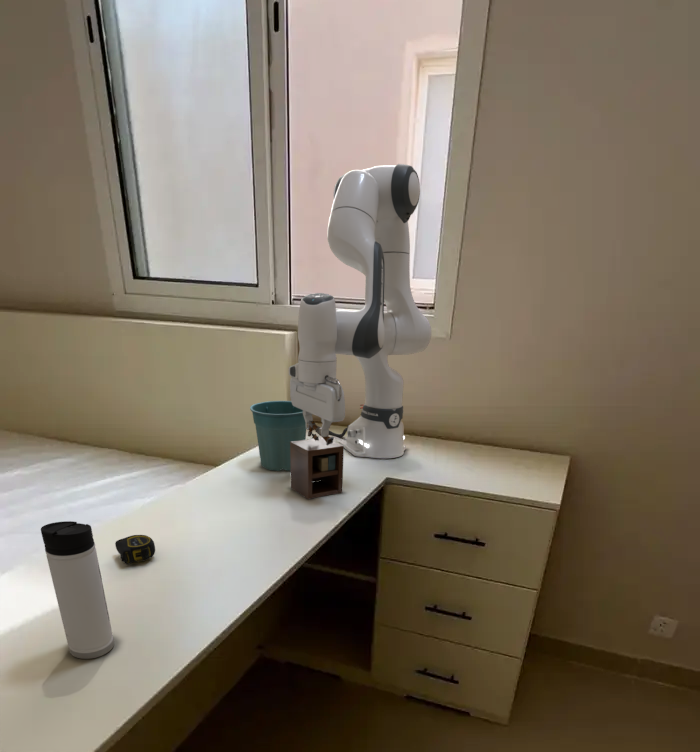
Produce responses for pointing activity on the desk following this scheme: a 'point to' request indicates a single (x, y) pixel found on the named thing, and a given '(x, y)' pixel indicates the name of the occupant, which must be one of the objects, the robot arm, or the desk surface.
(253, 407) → the flower pot
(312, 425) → the hinged wooden rods
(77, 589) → the travel mug
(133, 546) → the tape measure
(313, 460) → the shelf
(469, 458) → the desk surface
